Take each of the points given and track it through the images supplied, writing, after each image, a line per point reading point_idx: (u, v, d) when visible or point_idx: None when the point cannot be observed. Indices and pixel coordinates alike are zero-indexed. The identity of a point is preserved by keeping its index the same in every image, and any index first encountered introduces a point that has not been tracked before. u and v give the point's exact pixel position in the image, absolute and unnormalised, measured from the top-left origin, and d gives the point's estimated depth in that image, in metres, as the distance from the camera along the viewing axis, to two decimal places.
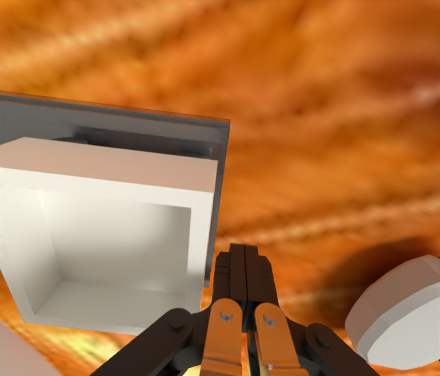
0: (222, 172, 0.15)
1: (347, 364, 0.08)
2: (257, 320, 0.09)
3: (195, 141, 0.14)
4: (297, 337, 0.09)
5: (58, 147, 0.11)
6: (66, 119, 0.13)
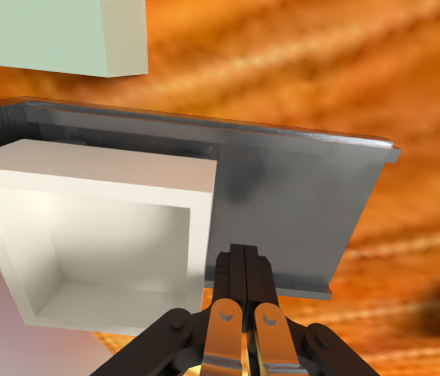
0: (371, 189, 0.15)
1: (347, 364, 0.08)
2: (257, 320, 0.09)
3: (353, 159, 0.14)
4: (297, 337, 0.09)
5: (57, 149, 0.11)
6: (238, 140, 0.13)
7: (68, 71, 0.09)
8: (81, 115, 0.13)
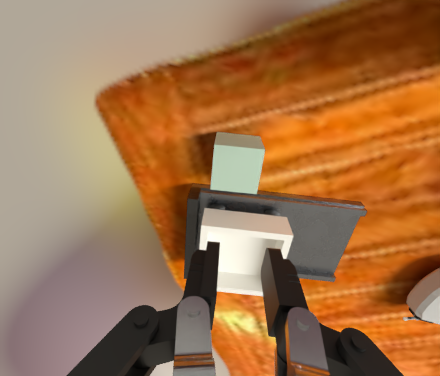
0: (355, 225, 0.31)
1: (382, 373, 0.08)
2: (291, 325, 0.09)
3: None
4: (331, 342, 0.09)
5: (223, 213, 0.28)
6: (294, 206, 0.29)
7: (242, 192, 0.25)
8: (225, 195, 0.29)
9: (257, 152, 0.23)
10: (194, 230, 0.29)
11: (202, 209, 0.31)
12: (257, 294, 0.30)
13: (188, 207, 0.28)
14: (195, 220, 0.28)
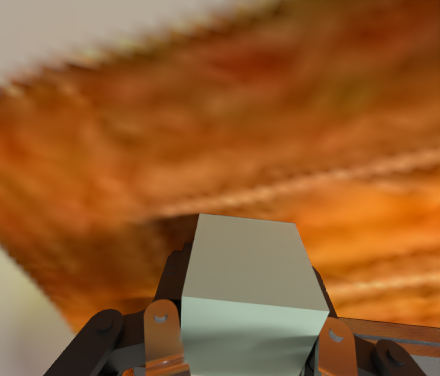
0: None
1: None
2: (324, 336, 0.09)
3: None
4: (365, 354, 0.09)
5: None
6: None
7: None
8: None
9: (307, 316, 0.08)
10: None
11: None
12: None
13: None
14: None
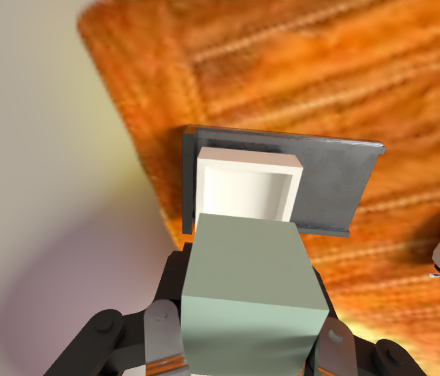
0: (372, 168, 0.28)
1: None
2: (324, 336, 0.09)
3: (361, 153, 0.27)
4: (365, 353, 0.09)
5: (223, 151, 0.25)
6: (302, 144, 0.26)
7: None
8: (225, 134, 0.26)
9: (307, 316, 0.08)
10: (191, 173, 0.26)
11: None
12: None
13: (183, 144, 0.25)
14: (192, 160, 0.25)
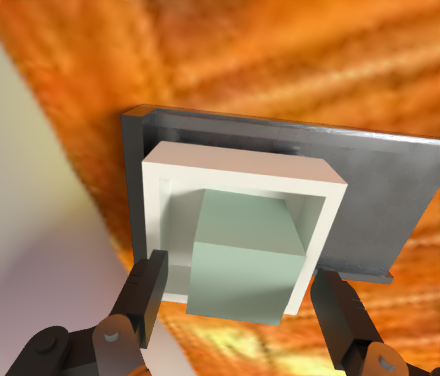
0: None
1: None
2: (375, 365, 0.08)
3: (427, 158, 0.16)
4: None
5: (196, 149, 0.14)
6: (333, 141, 0.15)
7: (250, 321, 0.13)
8: (202, 120, 0.15)
9: (289, 261, 0.11)
10: (142, 187, 0.15)
11: None
12: None
13: (124, 135, 0.14)
14: None
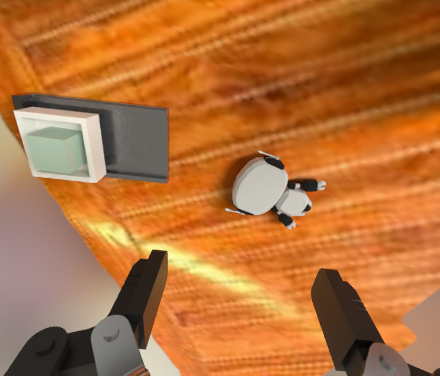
0: (166, 128, 0.38)
1: None
2: (377, 366, 0.08)
3: (155, 116, 0.38)
4: None
5: (43, 109, 0.35)
6: (108, 108, 0.37)
7: (58, 172, 0.34)
8: (52, 99, 0.36)
9: (59, 142, 0.32)
10: None
11: None
12: (82, 180, 0.37)
13: (14, 103, 0.35)
14: None
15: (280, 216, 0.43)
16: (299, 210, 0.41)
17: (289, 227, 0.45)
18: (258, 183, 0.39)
